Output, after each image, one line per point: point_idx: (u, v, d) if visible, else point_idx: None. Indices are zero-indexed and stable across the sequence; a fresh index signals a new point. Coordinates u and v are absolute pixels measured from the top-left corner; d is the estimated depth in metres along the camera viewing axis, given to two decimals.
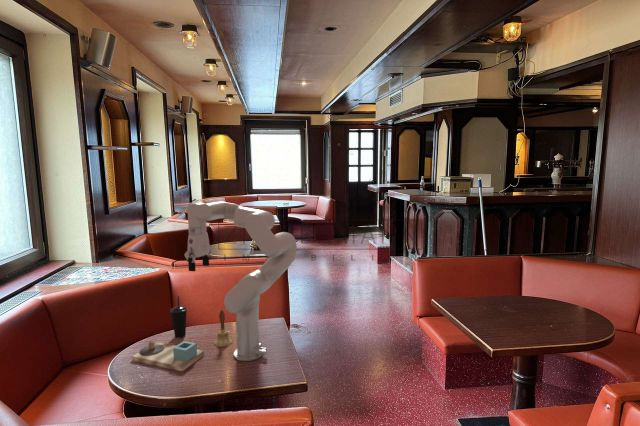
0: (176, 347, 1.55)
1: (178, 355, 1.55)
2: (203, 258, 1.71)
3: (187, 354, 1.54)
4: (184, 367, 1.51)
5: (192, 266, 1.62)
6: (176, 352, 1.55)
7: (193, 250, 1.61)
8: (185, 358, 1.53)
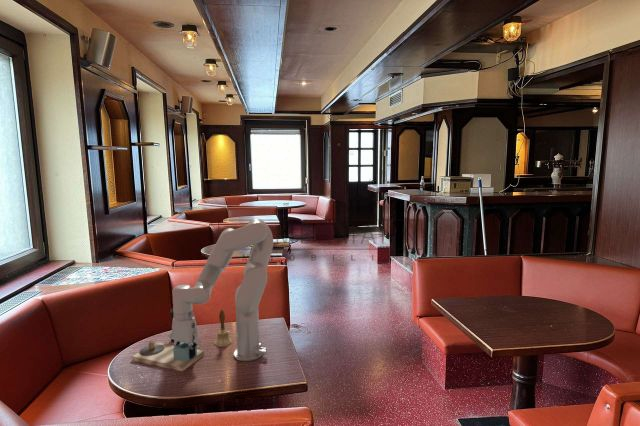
0: (176, 347, 1.55)
1: (178, 355, 1.55)
2: None
3: (187, 354, 1.54)
4: (184, 367, 1.51)
5: None
6: (176, 352, 1.55)
7: (196, 333, 1.56)
8: (185, 358, 1.53)
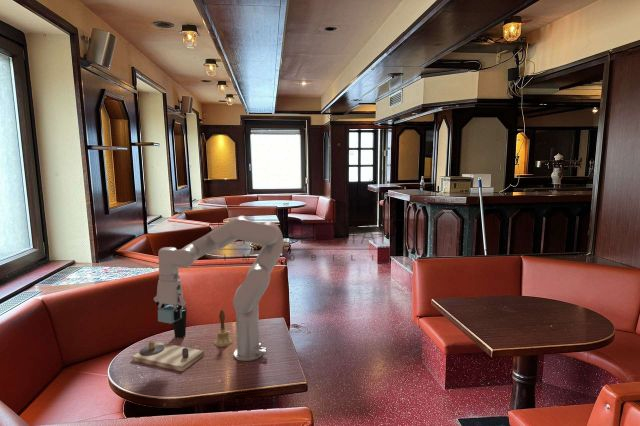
0: (161, 309, 1.56)
1: (163, 317, 1.55)
2: None
3: (171, 316, 1.54)
4: (184, 367, 1.51)
5: None
6: (161, 314, 1.55)
7: (181, 295, 1.56)
8: (170, 319, 1.54)
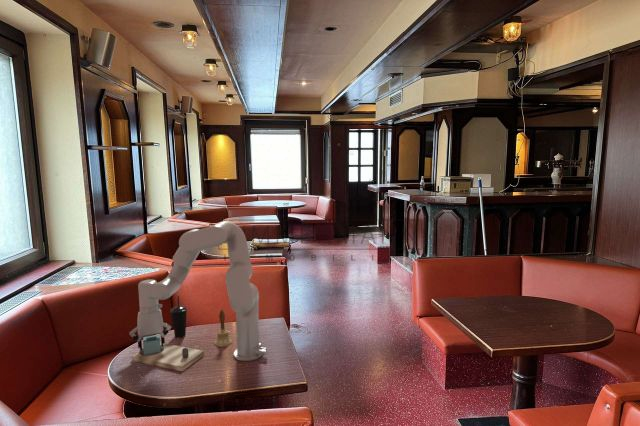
0: (145, 342, 1.60)
1: (150, 348, 1.60)
2: None
3: None
4: (184, 367, 1.51)
5: None
6: (147, 346, 1.60)
7: None
8: (159, 348, 1.62)
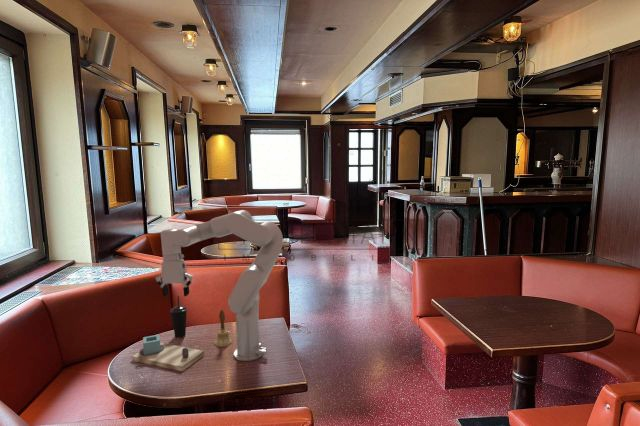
0: (145, 342, 1.60)
1: (150, 348, 1.60)
2: (164, 288, 1.64)
3: None
4: (184, 367, 1.51)
5: None
6: (147, 346, 1.60)
7: None
8: (159, 348, 1.62)
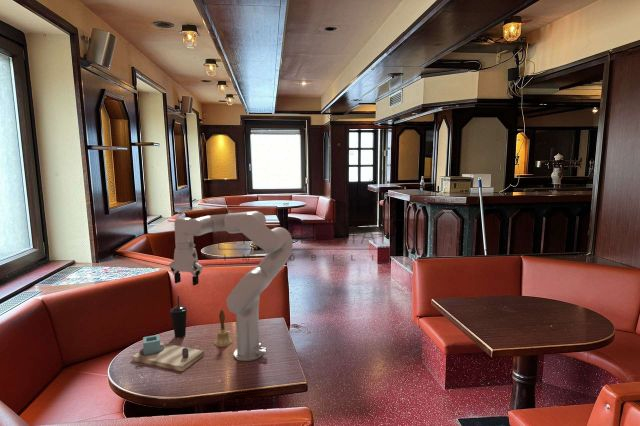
0: (145, 342, 1.60)
1: (150, 348, 1.60)
2: (176, 275, 1.66)
3: None
4: (184, 367, 1.51)
5: None
6: (147, 346, 1.60)
7: None
8: (159, 348, 1.62)
